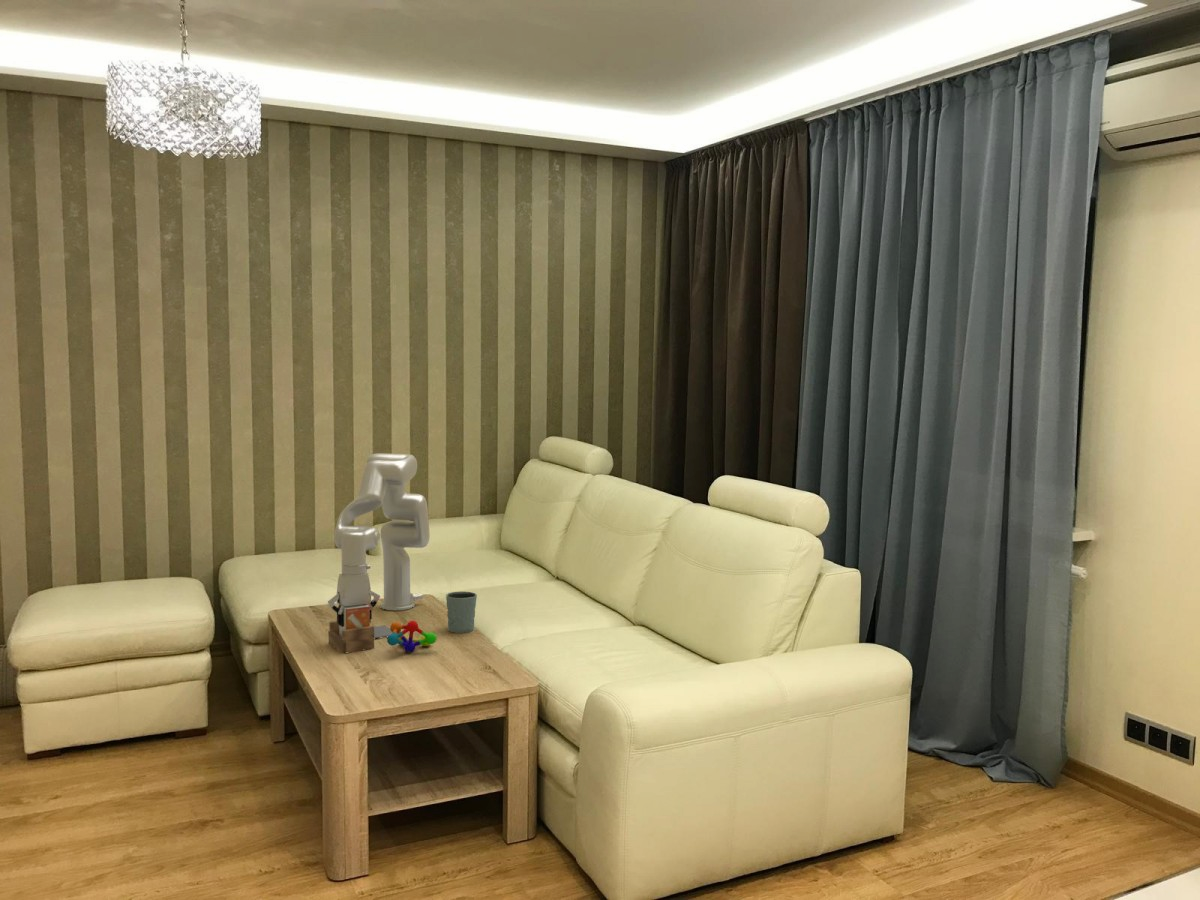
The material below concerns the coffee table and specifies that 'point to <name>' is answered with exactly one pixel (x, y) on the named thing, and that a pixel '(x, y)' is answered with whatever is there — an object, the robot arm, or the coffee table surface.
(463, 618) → the blue-grey cup
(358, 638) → the slot
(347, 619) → the small box
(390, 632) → the coaster
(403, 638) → the molecular model
